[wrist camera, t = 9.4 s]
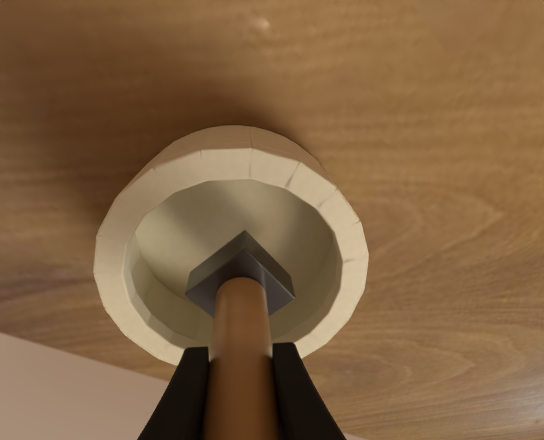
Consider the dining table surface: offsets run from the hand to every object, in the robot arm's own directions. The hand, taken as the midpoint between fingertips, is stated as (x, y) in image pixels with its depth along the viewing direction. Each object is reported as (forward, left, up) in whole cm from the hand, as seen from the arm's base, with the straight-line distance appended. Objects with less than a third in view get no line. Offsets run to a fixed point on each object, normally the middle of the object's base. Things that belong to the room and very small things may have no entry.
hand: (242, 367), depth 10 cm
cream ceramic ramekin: (0, +1, -8) cm, 8 cm away
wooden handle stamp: (0, 0, -5) cm, 5 cm away
